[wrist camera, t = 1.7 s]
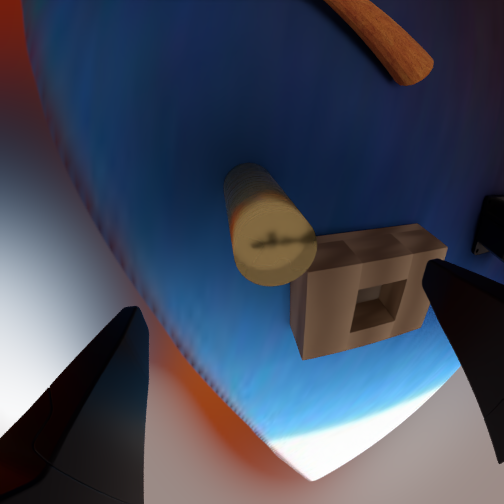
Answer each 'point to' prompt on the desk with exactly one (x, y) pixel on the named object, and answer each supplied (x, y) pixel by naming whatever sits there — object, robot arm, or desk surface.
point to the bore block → (362, 289)
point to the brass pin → (266, 228)
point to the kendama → (385, 40)
